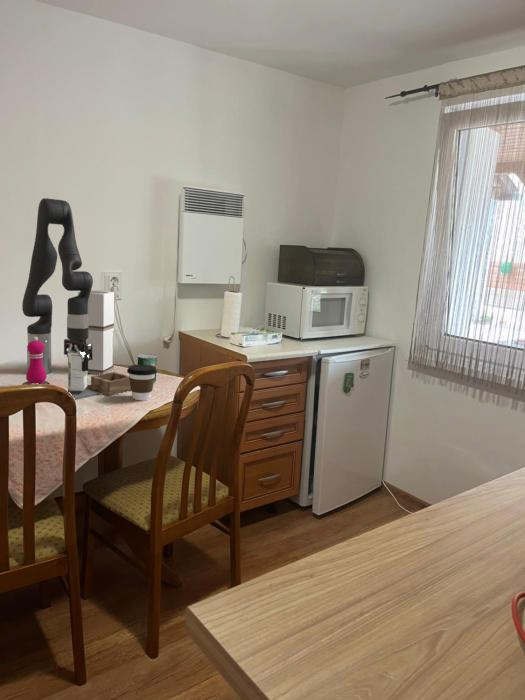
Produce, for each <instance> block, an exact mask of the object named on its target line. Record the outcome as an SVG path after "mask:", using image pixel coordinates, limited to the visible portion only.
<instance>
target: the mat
mask: <svg viewBox="0 0 525 700" xmlns="http://www.w3.org/2000/svg"><path fill="white" fill-rule="evenodd" d="M67 390H68V389H67ZM68 392H70V393H71V394H72V396H73V397H74V398H75V400H74V401H76V400H79V399H84V398H89V397H94V396H98V395H100V394H101V393H99V392H96V391H93V390H90V389H87V388H86V389H85V390H84V391H74V390H68Z"/></svg>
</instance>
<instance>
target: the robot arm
mask: <svg viewBox="0 0 525 700" xmlns="http://www.w3.org/2000/svg"><path fill="white" fill-rule="evenodd" d="M37 208H38V210H37V216H36V217H37V220H36V232H35V238H34V244H33V249H32V253H31V254H32V255H31V260H30V269H29V274H28V280H27V284H26V287H25V291H24V295H23V298H22V307H21V309H22V313H23V316H26V317H27V318H36V317H39V319H38V320H36V321H35V322H33V323H30V324H29V325H27V329H26V330H27V345H28V344H29V343H30V342H31V341H33V338H34V337H37V338H38V341H40V342H42V343H43V345H44V351H43V352H42V353H43V357H42V365H43V368H44V370H45V372H46V375H48V374H51V373H52V370H53V369H52V367H53V366H52V365H53V364H52V326H53V301H52V297H50V295H49V294H42V293H40V294H38V293H39V292H40V289H41V287H42V286H43V285H44V284H45V283H46V282H47V281H48V280H49V279H50V278H51V277H52V276H53V274H54V272H55V270H56V266H57V262H58V256H59V258H60V262H61V269H62V270H61V271H62V277H61V284H62V287H63V288H64V289H65V290H66V291H69V292H80V293H79V295H78V294H77V295H76V296H73V297H69V298H68V299H67V315H66V316H67V317H66V338H65V339H64V340H63V355H66V357H67V358H68V353H69V352H71V351H75V352H78V355H79V356H80V357H81V359H82V371H87V370H88V361H89V360H92V359H93V358H92V344H87V343H86V339H88V337H89V321H88V300H89V296H90V292H91V290H93V289H92V288H93V284H94V280H93V278H94V277H93V276H92V273H90V272H88V271H81V270H80V268H81V267H82V265H83V262H82V258H81V255H80V251H79V249H78V244H77V241H76V233H75V225H74V217H73V211H72V208H71V205H70V203H69V202H68V201H66V200H61V199H54V198H48V197H47V198H44V197H43V198H41V200H40V201H39V204H38V207H37ZM50 224H51V225H58V226H59V225H61V226H62V227H63V233H62V236H61V238H60V240H59V242H58V246H57V249H58V250H56V247H55V245H54V243H53V242H52V240H51V237H50V235H49V226H50ZM57 251H58V252H57ZM77 270H78V271H77ZM83 352H85V353H83ZM88 354H89V357H88ZM83 355H85V358H84V356H83ZM26 358H27V362H26V365H27V366H26V367H27V370H28V369H29V366H30V358H29V351H28V350H27V349H26ZM50 372H51V373H50ZM47 373H48V374H47Z"/></svg>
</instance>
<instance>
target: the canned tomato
mask: <svg viewBox="0 0 525 700" xmlns="http://www.w3.org/2000/svg"><path fill="white" fill-rule="evenodd" d="M157 358H158V356H157V355H156V354H152V353H143V354H142V353H141V354H137V365H151V366H154V367H156V368H157V362H158V361H157V360H158V359H157ZM154 382H155V383H156V382H157V373H155V378H154Z"/></svg>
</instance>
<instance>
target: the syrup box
mask: <svg viewBox="0 0 525 700" xmlns="http://www.w3.org/2000/svg"><path fill="white" fill-rule="evenodd" d="M83 353H85V352H83ZM83 356H84V358H85V355H83ZM67 366H68V367H67V368H68V369H67V371H68V373H67V378H68V379H67V381H68V382H67V383H68V384H67V390H74V391H84V390H85V389H86V387H87V385H88V373H87V371H82V359H81V357H80V356H79V355H78V352H75V351H71V352H69V353H68V357H67Z"/></svg>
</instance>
